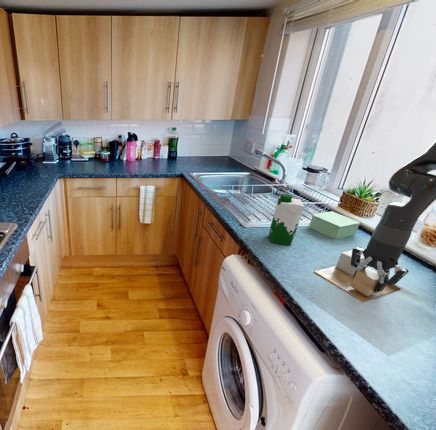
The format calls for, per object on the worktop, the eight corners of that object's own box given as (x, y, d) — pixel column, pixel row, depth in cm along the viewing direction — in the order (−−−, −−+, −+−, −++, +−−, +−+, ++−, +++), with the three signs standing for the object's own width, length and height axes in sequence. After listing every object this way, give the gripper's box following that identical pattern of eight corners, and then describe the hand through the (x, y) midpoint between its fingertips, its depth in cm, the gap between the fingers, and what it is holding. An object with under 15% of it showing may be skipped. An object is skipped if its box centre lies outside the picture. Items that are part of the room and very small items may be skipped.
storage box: (325, 226, 133) (331, 211, 130) (354, 239, 123) (361, 222, 119) (306, 230, 129) (311, 214, 126) (333, 244, 119) (340, 226, 115)
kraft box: (361, 282, 93) (369, 267, 91) (379, 292, 89) (387, 276, 87) (350, 286, 92) (357, 270, 89) (367, 296, 87) (375, 280, 85)
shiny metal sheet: (348, 263, 106) (349, 262, 106) (400, 289, 92) (400, 288, 92) (313, 272, 100) (314, 271, 100) (363, 302, 87) (363, 301, 87)
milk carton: (266, 234, 125) (278, 191, 117) (289, 237, 123) (303, 194, 115) (269, 243, 118) (282, 198, 110) (293, 247, 115) (308, 201, 107)
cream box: (346, 263, 105) (352, 249, 102) (360, 271, 100) (367, 257, 98) (335, 266, 103) (341, 252, 100) (350, 274, 99) (356, 260, 96)
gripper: (428, 249, 78) (400, 298, 85) (370, 226, 90) (350, 270, 97) (411, 253, 75) (384, 303, 83) (354, 229, 88) (335, 274, 95)
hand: (366, 285), depth 90 cm, fingers closed on kraft box, 5 cm apart
